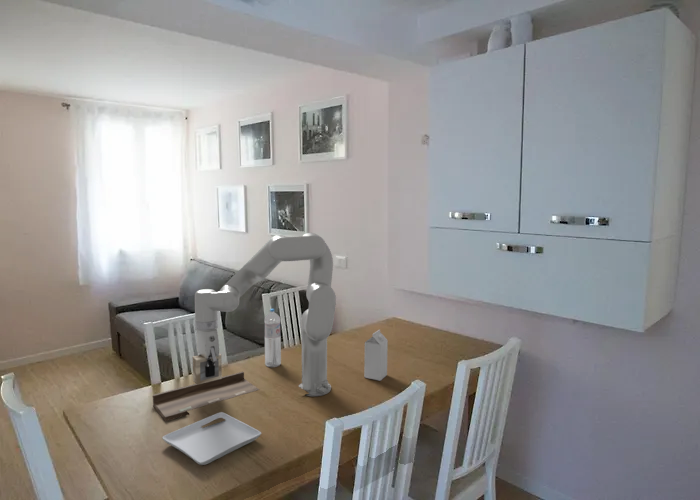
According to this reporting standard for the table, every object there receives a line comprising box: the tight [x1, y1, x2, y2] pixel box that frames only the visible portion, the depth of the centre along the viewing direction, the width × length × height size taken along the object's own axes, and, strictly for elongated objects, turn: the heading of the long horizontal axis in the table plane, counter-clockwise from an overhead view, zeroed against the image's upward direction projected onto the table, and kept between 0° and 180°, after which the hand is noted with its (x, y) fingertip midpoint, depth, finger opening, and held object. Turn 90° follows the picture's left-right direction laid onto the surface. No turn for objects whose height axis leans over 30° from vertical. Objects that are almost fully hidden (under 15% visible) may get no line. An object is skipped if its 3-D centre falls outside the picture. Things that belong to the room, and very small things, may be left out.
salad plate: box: [161, 411, 262, 466], centre depth 134 cm, size 21×21×3 cm
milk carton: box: [363, 329, 389, 381], centre depth 183 cm, size 7×7×19 cm
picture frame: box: [192, 352, 223, 385], centre depth 160 cm, size 4×9×9 cm, turn 129°
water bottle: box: [263, 308, 282, 368], centre depth 195 cm, size 7×7×25 cm
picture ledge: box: [152, 371, 260, 422], centre depth 162 cm, size 14×34×4 cm, turn 129°
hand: (207, 373), depth 161 cm, fingers closed on picture frame, 4 cm apart
